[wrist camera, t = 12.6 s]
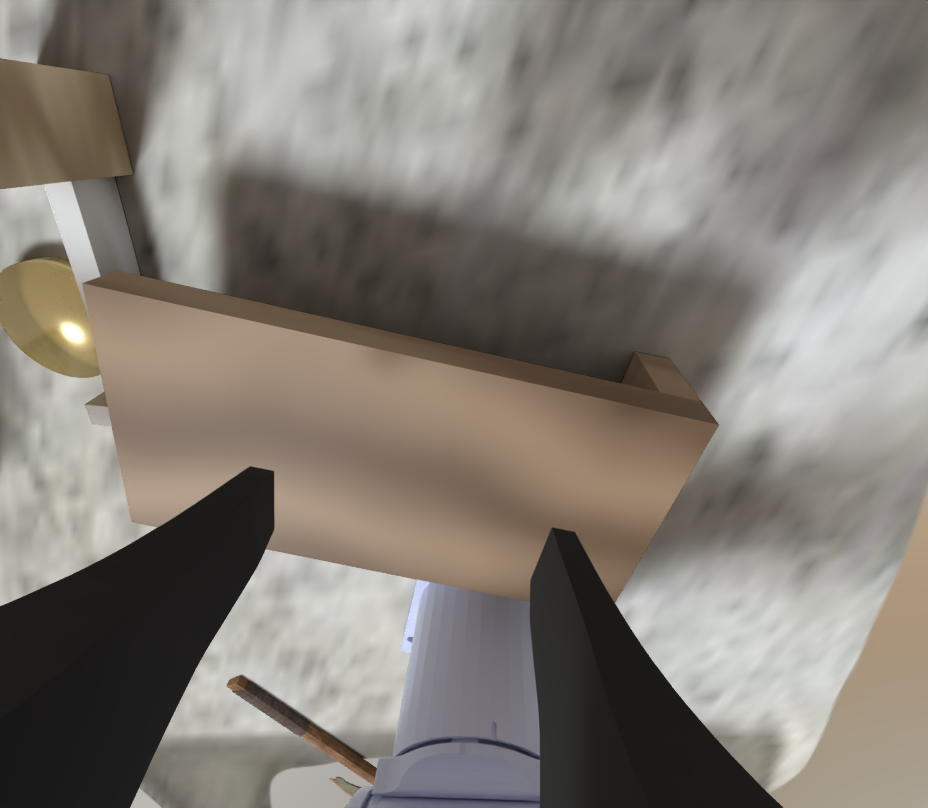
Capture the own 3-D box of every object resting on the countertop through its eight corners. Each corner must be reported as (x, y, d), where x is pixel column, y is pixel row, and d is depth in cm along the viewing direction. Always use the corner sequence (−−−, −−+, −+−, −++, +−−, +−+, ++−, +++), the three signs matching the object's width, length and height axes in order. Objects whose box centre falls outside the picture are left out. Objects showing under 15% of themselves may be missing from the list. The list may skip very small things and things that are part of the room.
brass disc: (104, 249, 19) (81, 256, 18) (156, 362, 21) (139, 373, 20) (-6, 260, 20) (-35, 268, 18) (58, 369, 22) (36, 381, 21)
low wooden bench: (587, 531, 24) (606, 617, 20) (200, 450, 23) (131, 522, 19) (670, 359, 19) (718, 425, 15) (180, 247, 18) (81, 283, 14)
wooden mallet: (191, 408, 22) (96, 493, 17) (123, 401, 22) (8, 483, 17) (108, 74, 16) (-87, 45, 10) (13, 66, 16) (-228, 32, 11)
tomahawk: (193, 682, 37) (182, 700, 36) (248, 668, 34) (237, 687, 33) (357, 789, 44) (352, 807, 43) (414, 786, 41) (410, 805, 40)
